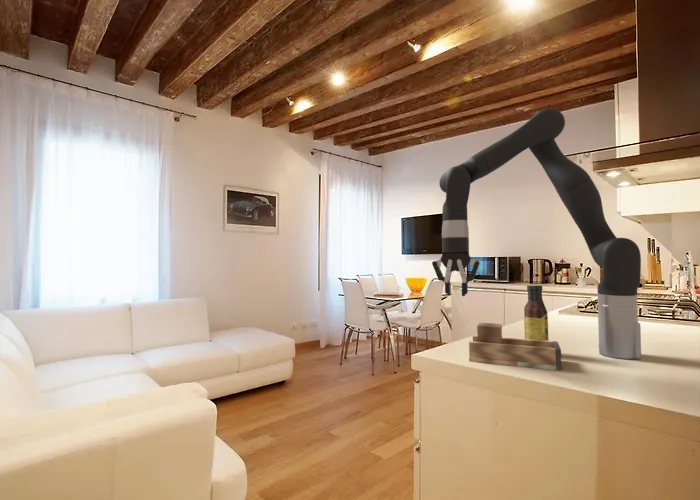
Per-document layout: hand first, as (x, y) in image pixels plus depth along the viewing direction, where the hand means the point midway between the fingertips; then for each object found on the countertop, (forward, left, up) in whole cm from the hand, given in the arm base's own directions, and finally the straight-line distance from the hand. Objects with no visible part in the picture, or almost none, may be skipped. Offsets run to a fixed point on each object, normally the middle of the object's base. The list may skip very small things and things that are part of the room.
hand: (456, 295), depth 109 cm
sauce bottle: (-21, -11, -17) cm, 29 cm away
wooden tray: (-15, 0, -17) cm, 23 cm away
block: (-9, 0, -16) cm, 18 cm away
